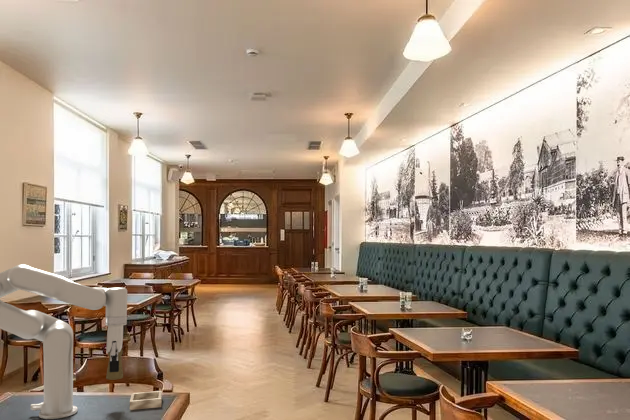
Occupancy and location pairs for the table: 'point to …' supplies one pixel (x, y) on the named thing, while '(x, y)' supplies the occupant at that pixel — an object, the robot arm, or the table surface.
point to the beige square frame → (146, 400)
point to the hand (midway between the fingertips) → (114, 369)
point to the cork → (115, 374)
